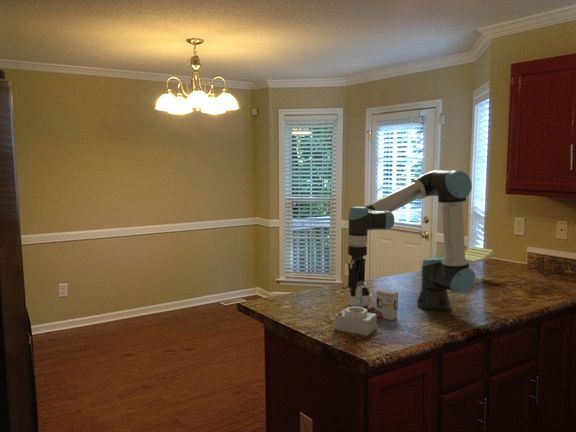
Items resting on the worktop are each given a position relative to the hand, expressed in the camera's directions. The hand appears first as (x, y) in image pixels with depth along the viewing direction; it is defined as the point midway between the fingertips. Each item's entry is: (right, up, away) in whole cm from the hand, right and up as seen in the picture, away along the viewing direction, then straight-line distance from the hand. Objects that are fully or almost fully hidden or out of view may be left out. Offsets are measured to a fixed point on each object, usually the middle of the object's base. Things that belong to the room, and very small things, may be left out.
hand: (356, 302), depth 198 cm
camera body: (0, -11, +1) cm, 11 cm away
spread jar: (+8, -8, +31) cm, 33 cm away
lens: (0, -1, 0) cm, 1 cm away
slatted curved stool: (+74, -3, +86) cm, 114 cm away
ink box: (+16, -10, +17) cm, 25 cm away
